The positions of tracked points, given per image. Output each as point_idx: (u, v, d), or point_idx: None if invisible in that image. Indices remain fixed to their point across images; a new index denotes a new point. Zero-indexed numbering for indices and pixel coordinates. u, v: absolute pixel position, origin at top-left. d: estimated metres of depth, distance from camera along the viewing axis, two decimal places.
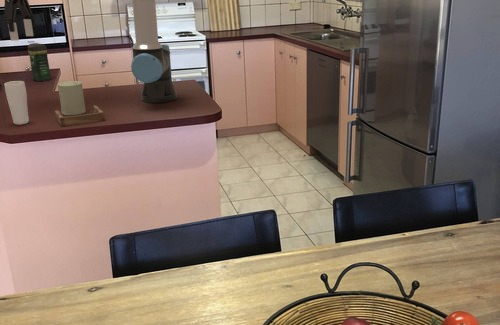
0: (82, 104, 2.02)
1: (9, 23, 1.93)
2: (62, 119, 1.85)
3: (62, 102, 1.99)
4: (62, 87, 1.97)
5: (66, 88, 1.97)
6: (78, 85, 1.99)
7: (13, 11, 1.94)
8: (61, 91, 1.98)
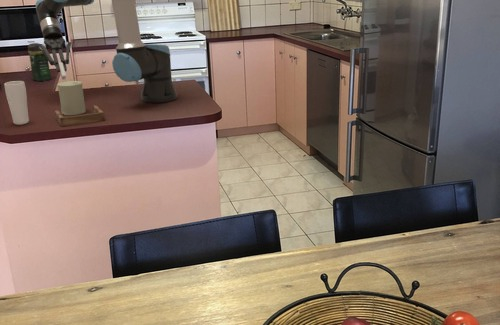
0: (82, 104, 2.02)
1: (55, 65, 2.12)
2: (62, 119, 1.85)
3: (62, 102, 1.99)
4: (62, 87, 1.97)
5: (66, 88, 1.97)
6: (78, 85, 1.99)
7: (53, 54, 2.13)
8: (61, 91, 1.98)
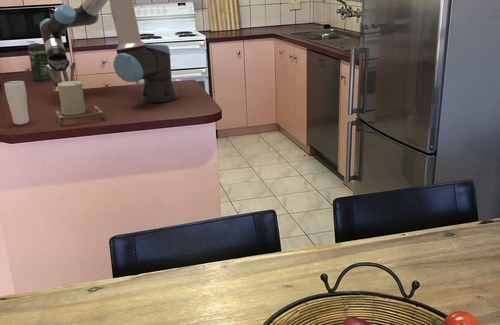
0: (82, 104, 2.02)
1: None
2: (62, 119, 1.85)
3: (62, 102, 1.99)
4: (62, 87, 1.97)
5: (66, 88, 1.97)
6: (78, 85, 1.99)
7: (57, 75, 2.13)
8: (61, 91, 1.98)
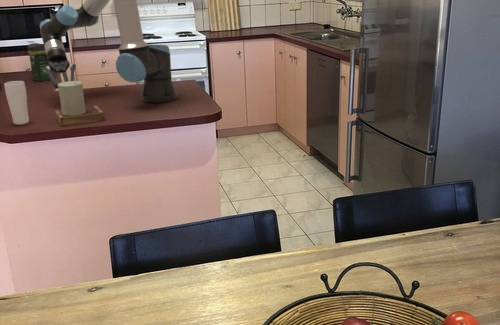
0: (82, 104, 2.01)
1: None
2: (62, 119, 1.85)
3: (62, 102, 1.99)
4: (62, 87, 1.96)
5: (66, 88, 1.96)
6: (78, 85, 1.98)
7: (57, 77, 2.09)
8: (61, 91, 1.97)
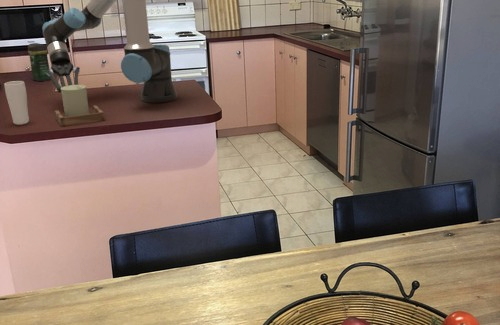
0: (85, 109, 1.94)
1: None
2: (62, 119, 1.85)
3: (64, 107, 1.93)
4: (64, 91, 1.90)
5: (68, 92, 1.89)
6: (81, 90, 1.91)
7: (61, 81, 2.02)
8: (63, 95, 1.91)
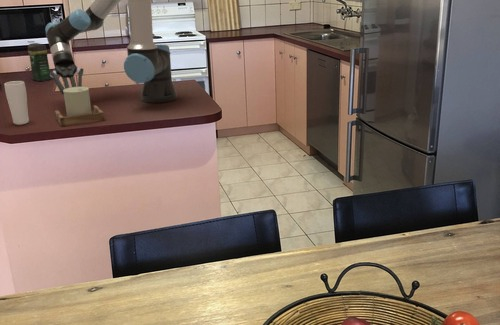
0: (86, 112, 1.90)
1: None
2: (62, 119, 1.85)
3: (66, 109, 1.90)
4: (65, 93, 1.87)
5: (68, 94, 1.86)
6: (82, 92, 1.87)
7: (64, 82, 1.99)
8: (65, 97, 1.88)
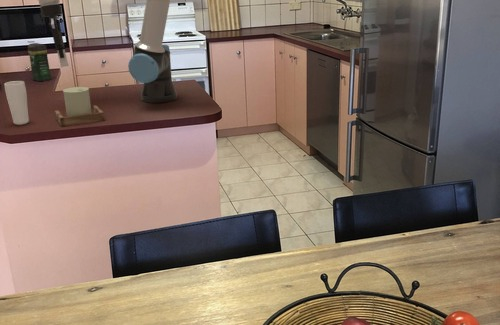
0: (86, 112, 1.90)
1: (59, 50, 2.02)
2: (62, 119, 1.85)
3: (66, 109, 1.90)
4: (65, 93, 1.87)
5: (68, 95, 1.86)
6: (82, 92, 1.87)
7: (59, 37, 2.01)
8: (65, 97, 1.88)
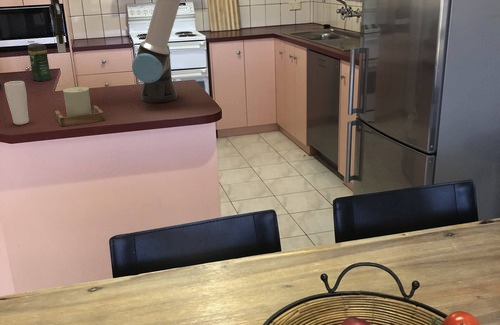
0: (86, 112, 1.90)
1: (60, 35, 2.00)
2: (62, 119, 1.85)
3: (66, 109, 1.90)
4: (65, 93, 1.87)
5: (68, 95, 1.86)
6: (82, 92, 1.87)
7: None
8: (65, 97, 1.88)
